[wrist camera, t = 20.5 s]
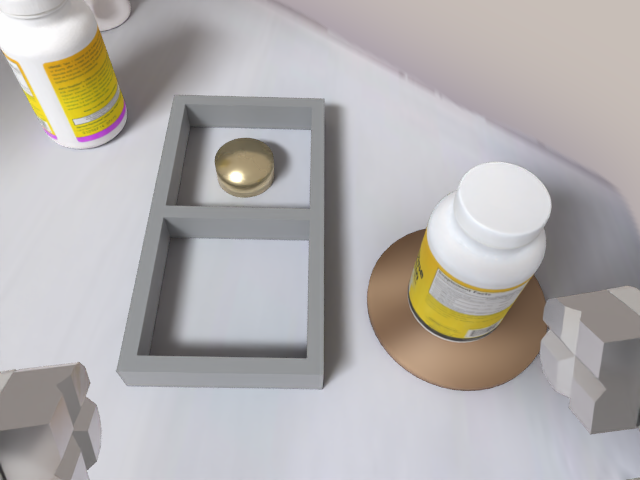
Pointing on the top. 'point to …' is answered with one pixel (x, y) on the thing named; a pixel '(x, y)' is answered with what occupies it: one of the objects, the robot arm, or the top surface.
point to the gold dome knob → (245, 167)
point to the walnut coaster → (441, 355)
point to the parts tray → (227, 225)
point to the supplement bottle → (63, 69)
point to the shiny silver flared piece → (109, 12)
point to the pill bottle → (479, 251)
